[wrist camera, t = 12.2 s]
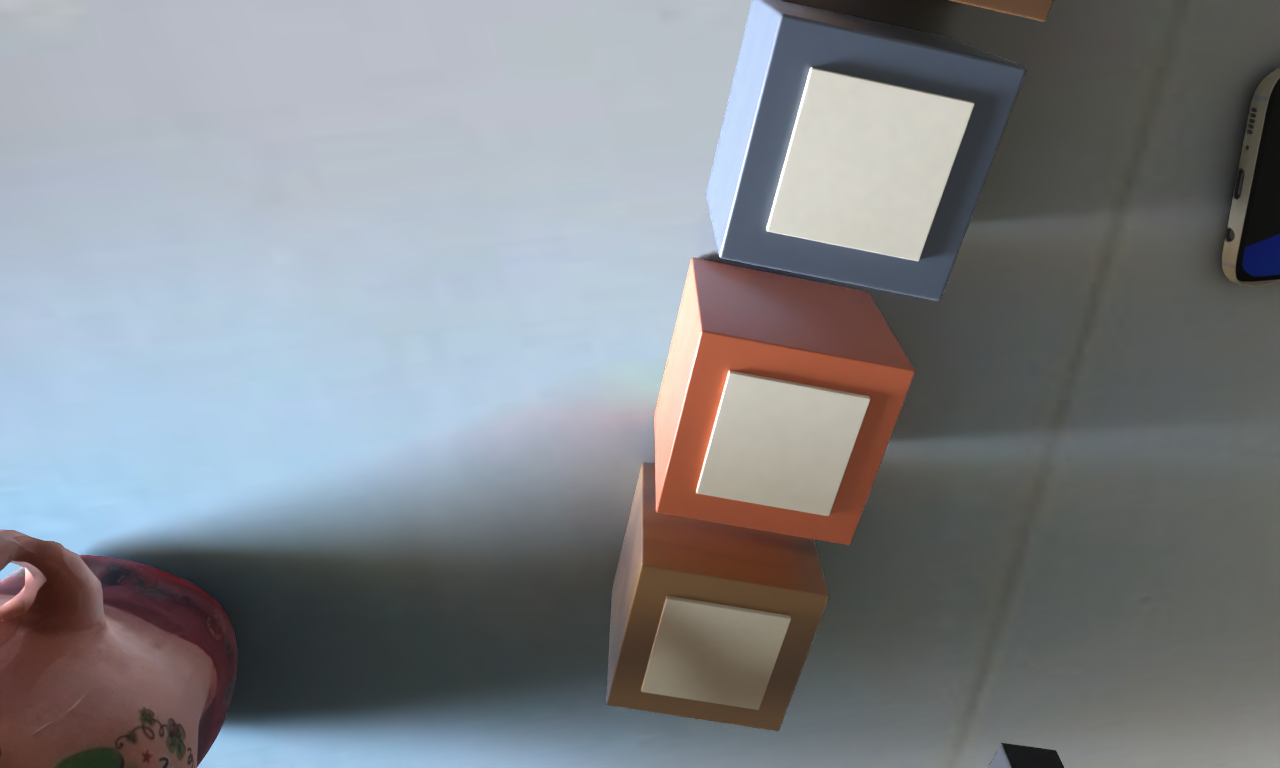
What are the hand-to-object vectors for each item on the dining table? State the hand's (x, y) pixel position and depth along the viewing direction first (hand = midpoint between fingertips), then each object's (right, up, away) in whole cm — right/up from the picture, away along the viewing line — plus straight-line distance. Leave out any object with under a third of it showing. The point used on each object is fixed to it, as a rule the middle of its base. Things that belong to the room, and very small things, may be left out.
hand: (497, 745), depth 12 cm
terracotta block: (+6, +6, +19) cm, 21 cm away
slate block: (+7, +13, +16) cm, 22 cm away
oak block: (+4, -1, +23) cm, 23 cm away
